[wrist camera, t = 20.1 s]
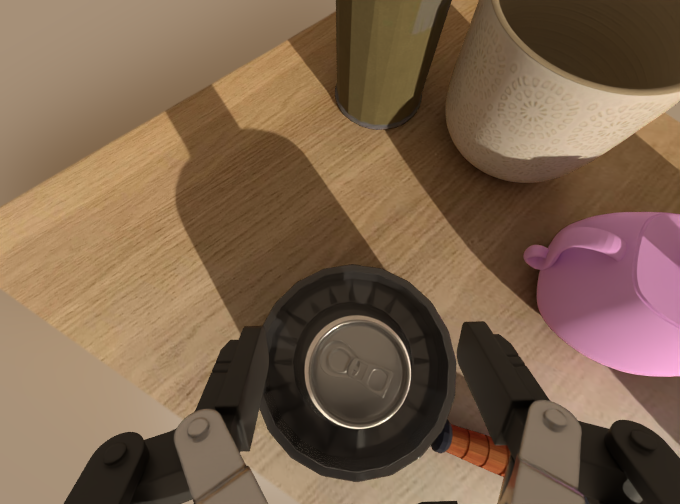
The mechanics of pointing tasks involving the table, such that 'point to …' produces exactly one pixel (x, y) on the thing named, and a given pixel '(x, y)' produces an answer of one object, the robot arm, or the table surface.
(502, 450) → the knife
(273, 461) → the table surface
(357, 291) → the bowl
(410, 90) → the canister
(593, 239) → the teapot
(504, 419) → the robot arm
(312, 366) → the can
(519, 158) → the planter
